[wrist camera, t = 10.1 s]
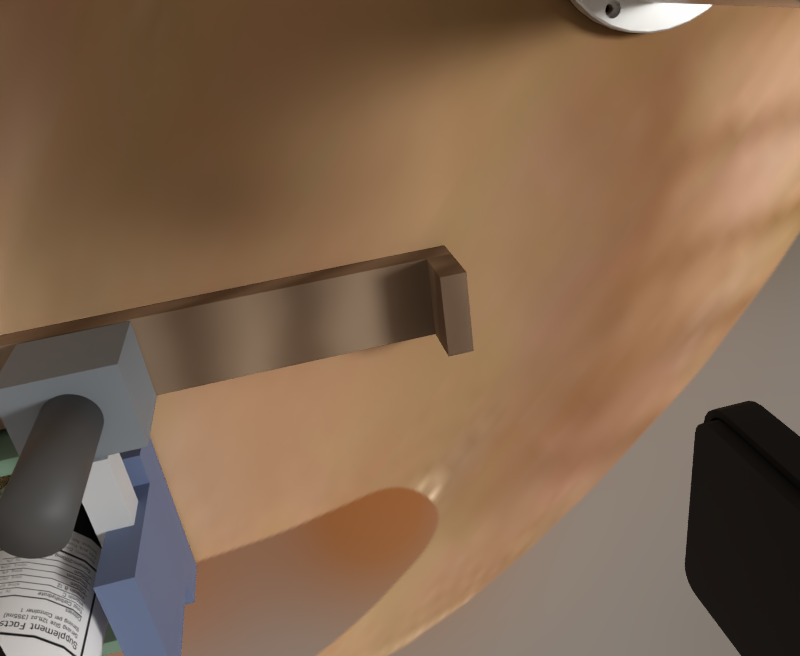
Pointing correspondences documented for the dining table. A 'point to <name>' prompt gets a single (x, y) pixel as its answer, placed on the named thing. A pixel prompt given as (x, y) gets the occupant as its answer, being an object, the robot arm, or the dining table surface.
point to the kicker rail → (290, 320)
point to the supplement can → (53, 599)
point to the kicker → (97, 478)
